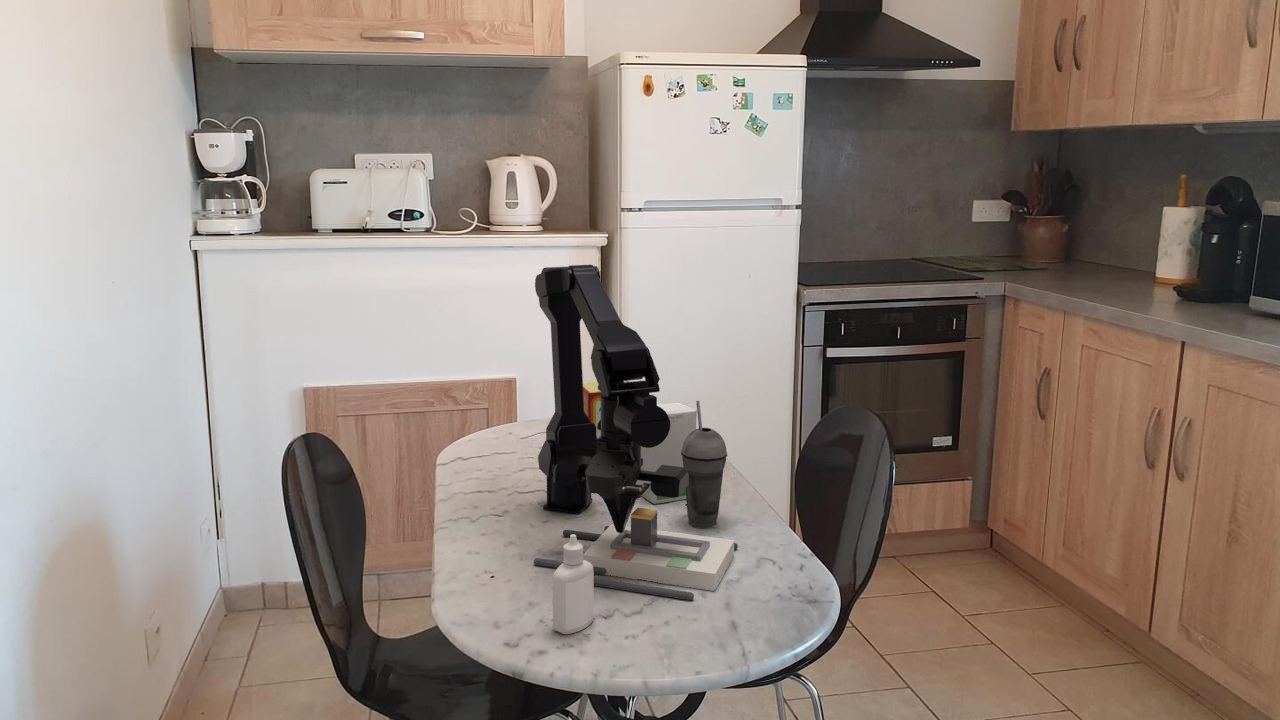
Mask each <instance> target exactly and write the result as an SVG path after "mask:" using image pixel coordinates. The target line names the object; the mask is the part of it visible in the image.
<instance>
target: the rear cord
mask: <svg viewBox="0 0 1280 720" xmlns="http://www.w3.org/2000/svg"><path fill="white" fill-rule="evenodd" d="M609 526H610V525H606V526H604V529H603V530H604V531H605V530H606V529H607V528H608V527H609ZM572 534H575V535H576V538H577V539H583V540H590V541H596V540H597V539H598V538H599V537H600V536H601V535H602V534H603V533H602V534H600V533H593V532H588V531H587V532H586V531H577V530H570V529H564V530H563V531H562V536H564V537H568V538H570V535H572ZM738 546H739V545H738V543H736V542H734V550H737V549H738Z"/></svg>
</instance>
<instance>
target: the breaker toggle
mask: <svg viewBox="0 0 1280 720" xmlns="http://www.w3.org/2000/svg"><path fill="white" fill-rule="evenodd" d="M630 527H631V544H633V545H640V546H648V547H653V546H654V545H655V544H656V543H657V530H658V509H651V508H644V507H636V508H635V510H634V511H633V512H631V514H630Z"/></svg>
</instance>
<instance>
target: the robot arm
mask: <svg viewBox="0 0 1280 720" xmlns="http://www.w3.org/2000/svg"><path fill="white" fill-rule="evenodd" d="M534 288H535V289H534V290H535V293H536V296H537V298H538V303H539V307H540V309H541V310H542V312H543V314H544V315H545V317H546V318H547V320H548V321H549V323H550V334H551V335H550V336H551V337H550V338H551V354H552V356H551V357H552V359H551V360H552V374H553V391H554V392H553V395H554V413H553V415H552V417H551V419H550V421H549V423H548V424H547V426H546V429H545V441H544V442H543V445H542V447H541V449H540V451H539V452H538V455H537V461H538V469H539V470H540V471H541V472H542V473H543V474H544V475H545V476H546V502H545V504H543V505H542V509H543V510H546V511H548V510H549V511H553V512H555V511H556V512H563V513H571V514H580V513H581V512H582V511H584V510H585V509H586V508H587V507H588V506H589V504H591V503H592V502H593V498H592V494H597V495H598V496H599V497H600V498H601V499H602V500H603V502H604V504H605V506H606V508H607V511H608V512H609V515H610V518H611V521H612V524H614V526H615V529H616V532H618V533H622V532H623V531H624V529H625V527H626V526H627V524H628V521H629V518H630V517H631V514H632V511H633V508H634V505H635V504H636V501H637V500H638V499H640V498H641V497H642V494H643V493H644V492H645V491H646V490H647V489H648V488H649V487H650V485H651V491H652V492H653V493H654V494H655V495H656V496H662V497H670V498H676V497H679V496H680V495H681V494H682V493H683V491H684V490H685V489H686V488H687V486H688V485H689V474H688V472H687V470H686V469H685V467H677V466H669V465H661V466H660V467H659V468H658V469H657V470H656V471H655V472H652V471H643V470H641V466H642V465H643V458H641V446H642V447H644V448H652V447H655V446H658V445H659V444H661V443H662V442H663V441H664V440H665V439H666V437H667V436H668V433H669V431H670V420H669V417H668V415H667V413H666V411H664V410H663V409H662V408H661V407H659V406H657V404H658V398H657V396H655V394H654V395H653V394H651V393H659V392H660V386H659V382H660V376H659V373H658V371H657V368H656V365H655V362H654V360H653V357H652V355H651V352H650V349H649V347H648V346H647V344H646V343H645V342H644V340H643V339H642V338H641V336H640V335H639V333H638V332H637V331H636V330H635V329H632V328H631V327H629V326H627V325H624V323H623V322H622V321H621V319H620V316H619V315H618V312H617V311H616V309H615V306H614V304H613V303H612V300H611V298H610V296H609V295H608V293H607V290H606V289H605V286H604V285H603V283H602V281H601V273H600V269H599V268H598V266H596V265H593V264H574V265H570V264H569V265H568V266H553V267H552V266H551V267H550V266H548V267H547V266H546V267H544V268H542V269H541V272H540V273H538V274H536V276H535V281H534ZM581 321H583V324H584V326H585V328H586V330H587V332H588V334H589V336H590V339H591V342H592V344H593V346H592V349H591V350H592V351H591V353H590V354H591V355H590V360H591V362H590V363H591V369H592V372H593V374H594V377H595V379H596V382H598V384H599V385H598V390H600V391H601V436H600V437H599V438H597V436H596V426H595V424H594V423H592V422H591V421H590V419H589V418H588V417H587V415H586V414H585V412H584V396H583V384H584V381H583V379H584V378H583V377H584V376H583V360H582V358H583V357H582V341H581ZM642 379H644V380H642ZM624 381H628V382H624Z"/></svg>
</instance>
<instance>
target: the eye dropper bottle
mask: <svg viewBox="0 0 1280 720" xmlns="http://www.w3.org/2000/svg"><path fill="white" fill-rule="evenodd" d="M568 540H569V541H568V542H567V543H565V544H564V545H563V546H562V547H563V548H562V549H563V553H562V555H563V561H562V562H564V563H562V564H561V565H560V566H559V567H558V568H556V569H555V571H554V573H553V575H552V629H553V630H554V631H555V632H558V633H560V634H562V635H571V634H575V633H577V632H580V631H582V630H585V629H586V628H587V627H589V626H590V625H591V624H592V623H593V621H594V618H595V614H594V613H595V604H594V602H595V599H594V598H595V585H594V578H595V576H594V575H595V574H594V571H593V565H592V564H591V563H590V562H588V561H585V560H583V554H584V546H583V544H582V543H580V542H579V541H578V538H576V535H575V534H572V535H570V537H569V539H568Z"/></svg>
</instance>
